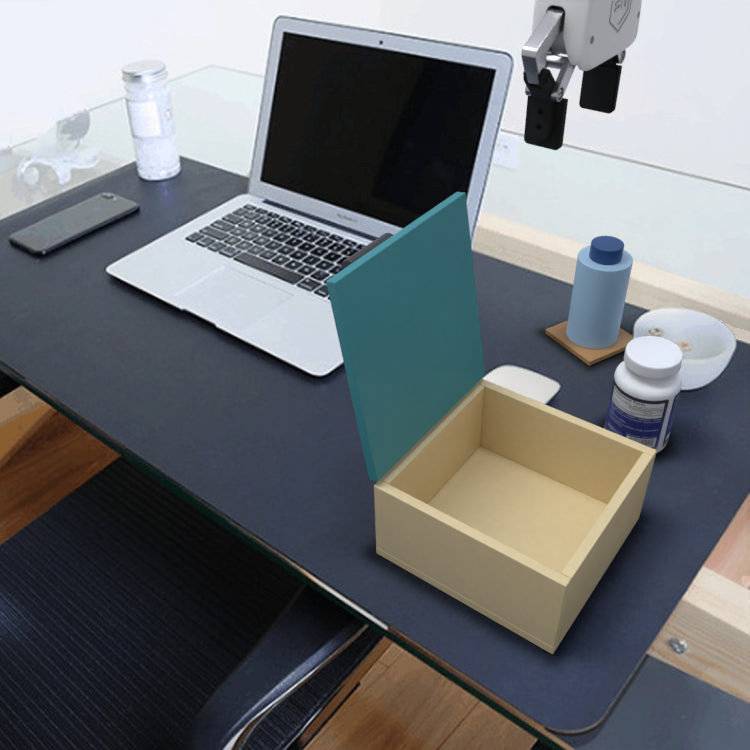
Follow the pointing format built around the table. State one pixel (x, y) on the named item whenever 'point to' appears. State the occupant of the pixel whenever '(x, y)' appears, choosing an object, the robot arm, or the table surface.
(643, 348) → the pill bottle
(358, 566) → the table surface
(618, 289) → the water bottle
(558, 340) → the coaster mat
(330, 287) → the teal box lid
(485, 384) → the tan wooden box
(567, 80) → the robot arm
